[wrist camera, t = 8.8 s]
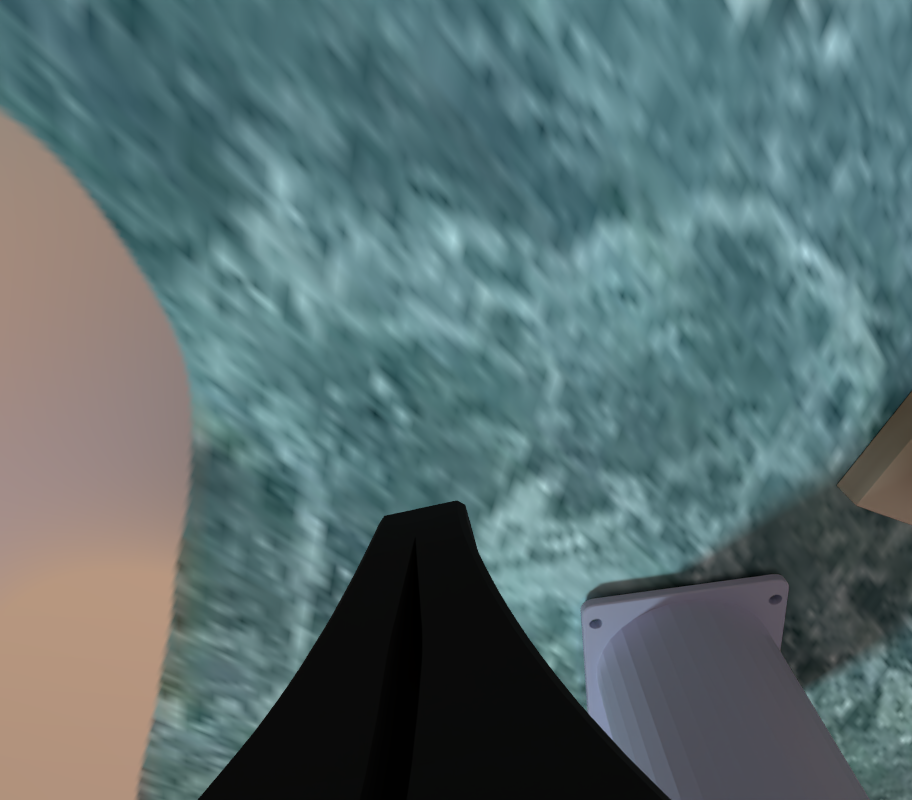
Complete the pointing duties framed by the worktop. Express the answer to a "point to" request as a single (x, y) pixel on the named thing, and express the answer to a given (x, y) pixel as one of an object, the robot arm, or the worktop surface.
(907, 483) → the dial board
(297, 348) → the worktop surface
